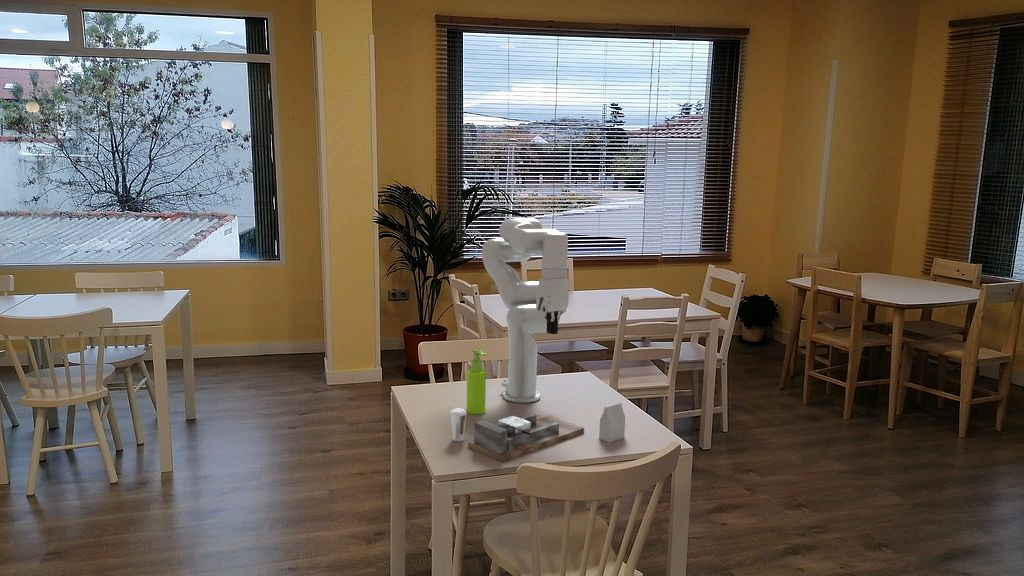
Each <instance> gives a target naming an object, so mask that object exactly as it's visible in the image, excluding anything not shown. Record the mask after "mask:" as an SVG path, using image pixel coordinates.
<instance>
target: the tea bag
mask: <svg viewBox="0 0 1024 576" xmlns="http://www.w3.org/2000/svg"><path fill="white" fill-rule="evenodd" d="M623 409H624V408H623V405H622V402H618V403H614V404H611V405H607V406H604V409H603V412H602V414H601V417H600V419H599V431H598V432H599V434H598V439H599V440H601V441H603V442H607V443H608V444H609V443H612V442H614V441H618V440H620V439H623V438H625V432H626V431H625V429H626V415H625V412H624V410H623Z"/></svg>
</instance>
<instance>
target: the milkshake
mask: <svg viewBox="0 0 1024 576" xmlns="http://www.w3.org/2000/svg"><path fill="white" fill-rule="evenodd" d="M447 408H448V409H449V412H450V413H449V414H450V422H451V438H452V441H453V442H456V443H457V442H459V443H461V442H464V440H465V435H466V434H465V433H466V432H465V431H466V421H467V414H468V412H467V410H466V409H464V408H462V407H457V408H453V409H452V410H451V409H450V407H449V406H447Z"/></svg>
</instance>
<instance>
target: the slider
mask: <svg viewBox="0 0 1024 576" xmlns="http://www.w3.org/2000/svg"><path fill="white" fill-rule="evenodd" d="M521 418H522V417H518V416H515V415H511V416H507V417H504V418H501V419H497V425H498V426H499V427H501V428H504V429H506V430H508V438H511V437H514V436H517V435H520V434H522V433H526V434H529V435H532V433H530V432H528V431H531V422H529V421H526V420H524V419H521ZM508 438H507V439H508Z"/></svg>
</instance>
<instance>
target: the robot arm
mask: <svg viewBox="0 0 1024 576" xmlns="http://www.w3.org/2000/svg"><path fill="white" fill-rule="evenodd" d="M498 233H499V235H500V237H497V238H492V239H488V240H486V241H485V242H484V243H483V245H482V248H481V258H482V262H483V263H482V264H483V266H484V268H485V270H486V272H487V273H488V275H489V276H490V277H491V280H492V281H494V283H495V285H496V288H497V290H498V293H499V295H500V298H501V300H502V303H503V305H504V306H505V307H506V308H507V309H508V310H507V312H506V324H507V325H506V326H507V332H508V333H507V334H508V369H507V370H508V371H507V378H506V379H504V381H503V382H501V386H502V387H505V391H503V393H502V397H503V399H504V400H507V401H508V402H513V403H518V404H519V403H521V404H522V403H523V404H525V403H527V404H528V403H533V402H537V401H539V400H540V399H541V396H542V395H541V393H540V392H539V391H537V377H538V376H537V372H538V371H537V369H538V367H537V366H538V345H537V342H536V341H535V339H534V338H533V336H532V334H537V333H547V334H550V335H557V334H558V333H559V332H558V330H559V329H558V328H559V324H560V319H561V316H562V315H563V314H564V313H566V312H567V308H568V307H569V294H570V293H569V282H568V275H567V274H568V251H569V250H568V247H569V237H568V235H567V233H565V232H561V231H559V230H557V229H554V228H552V229H551V228H549V229H548V228H543V226H542V224H541V222H540V221H539V220H538V219H536V218H533V217H532V218H531V217H530V218H529V217H527V218H520V217H519V218H517V217H516V218H508V219H506V220H504V221H502V222H501V224H500V226H499V230H498ZM538 254H539V255H542V257H541V277H540V278H539V280H537V281H536V280H535V281H534V280H530V281H524V280H522V279H521V278H520V276H519V273H518V272H517V270H516V269H514V268H513V267H512V266H511V265H510V264H508V263H516V262H517V263H518V262H527V261H528V260H530V259H531V258H532V256H533V255H538Z"/></svg>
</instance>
